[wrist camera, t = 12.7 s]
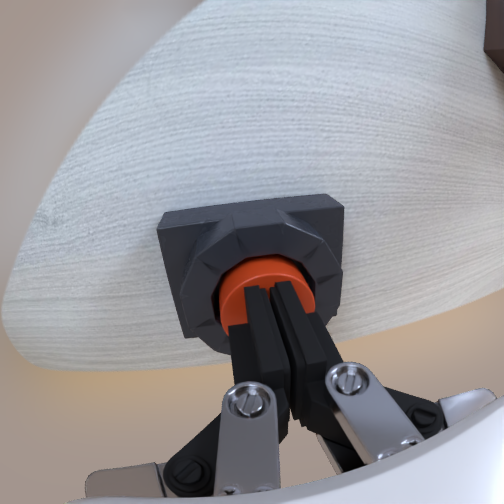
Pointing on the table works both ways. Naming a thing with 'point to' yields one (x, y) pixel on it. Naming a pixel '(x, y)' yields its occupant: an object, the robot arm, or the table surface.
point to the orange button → (264, 275)
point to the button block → (249, 254)
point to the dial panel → (495, 32)
